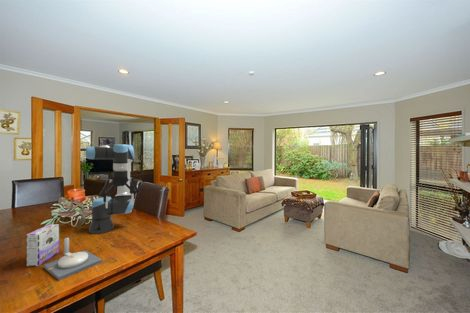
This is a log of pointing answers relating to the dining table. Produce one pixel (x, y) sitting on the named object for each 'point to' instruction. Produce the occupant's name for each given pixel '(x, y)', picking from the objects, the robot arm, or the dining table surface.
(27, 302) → the dining table surface
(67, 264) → the dial
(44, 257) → the candy box
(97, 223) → the robot arm
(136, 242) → the dining table surface
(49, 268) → the board
